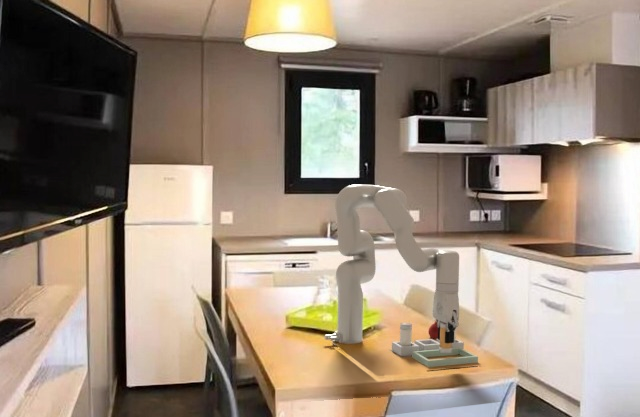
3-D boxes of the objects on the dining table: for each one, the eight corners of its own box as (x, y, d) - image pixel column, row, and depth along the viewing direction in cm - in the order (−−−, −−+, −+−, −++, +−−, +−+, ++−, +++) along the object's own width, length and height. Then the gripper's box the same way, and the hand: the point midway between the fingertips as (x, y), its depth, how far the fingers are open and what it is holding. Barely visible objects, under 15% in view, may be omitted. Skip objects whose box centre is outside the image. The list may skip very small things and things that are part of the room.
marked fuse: (443, 353, 205) (444, 324, 205) (437, 350, 209) (437, 321, 208) (454, 352, 206) (454, 323, 206) (447, 349, 210) (448, 320, 210)
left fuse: (402, 354, 213) (403, 326, 213) (397, 351, 217) (398, 323, 217) (413, 353, 215) (413, 325, 214) (407, 350, 218) (408, 322, 218)
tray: (427, 371, 200) (428, 360, 200) (411, 361, 210) (412, 351, 210) (477, 366, 206) (478, 356, 206) (459, 357, 216) (460, 347, 216)
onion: (444, 340, 239) (445, 320, 238) (442, 344, 233) (443, 323, 233) (429, 338, 241) (430, 318, 240) (427, 342, 235) (427, 321, 235)
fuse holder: (400, 361, 210) (400, 348, 210) (389, 353, 219) (389, 341, 219) (466, 355, 219) (466, 343, 219) (452, 348, 227) (453, 336, 227)
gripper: (425, 283, 213) (423, 335, 214) (450, 292, 197) (449, 348, 198) (443, 282, 216) (442, 334, 217) (470, 291, 200) (469, 346, 201)
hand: (445, 340), depth 207 cm, fingers closed on marked fuse, 4 cm apart
